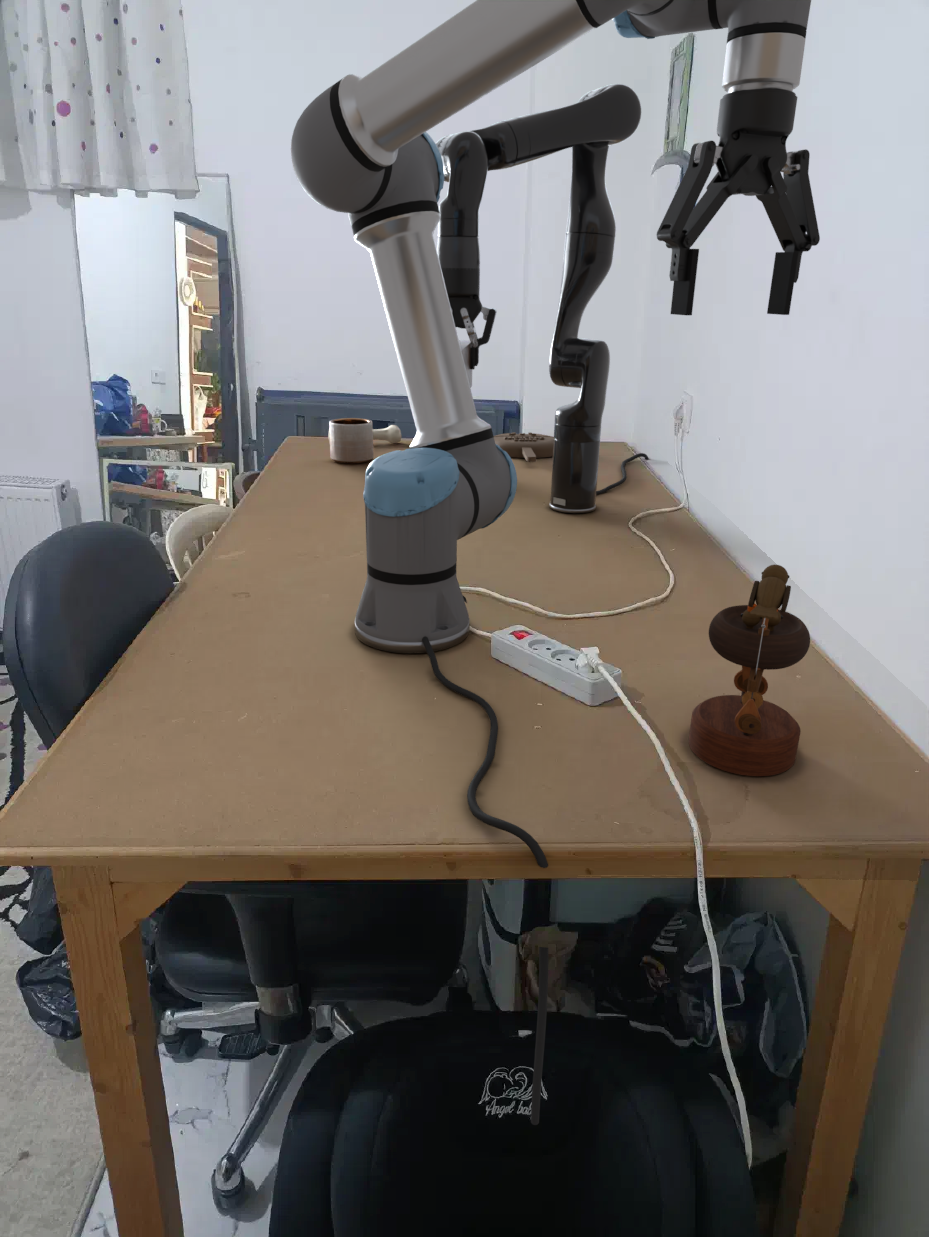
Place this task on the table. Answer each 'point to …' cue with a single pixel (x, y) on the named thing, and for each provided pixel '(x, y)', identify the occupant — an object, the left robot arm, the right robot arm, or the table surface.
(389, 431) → the dog toy
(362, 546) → the table surface
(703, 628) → the table surface
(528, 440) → the ice cream bar
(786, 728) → the brown wooden stacked piece
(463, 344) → the bar
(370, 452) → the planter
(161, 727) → the table surface
